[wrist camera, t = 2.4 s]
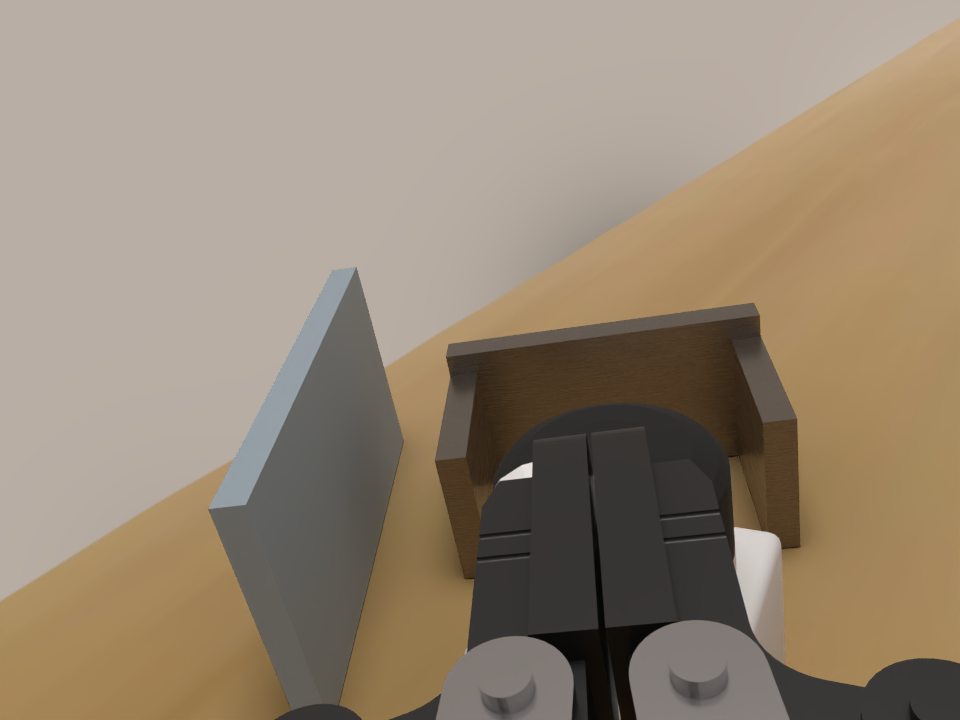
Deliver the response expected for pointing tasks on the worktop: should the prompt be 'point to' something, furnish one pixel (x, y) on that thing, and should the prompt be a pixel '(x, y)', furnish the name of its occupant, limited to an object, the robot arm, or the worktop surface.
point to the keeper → (620, 379)
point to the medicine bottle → (690, 440)
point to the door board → (314, 494)
